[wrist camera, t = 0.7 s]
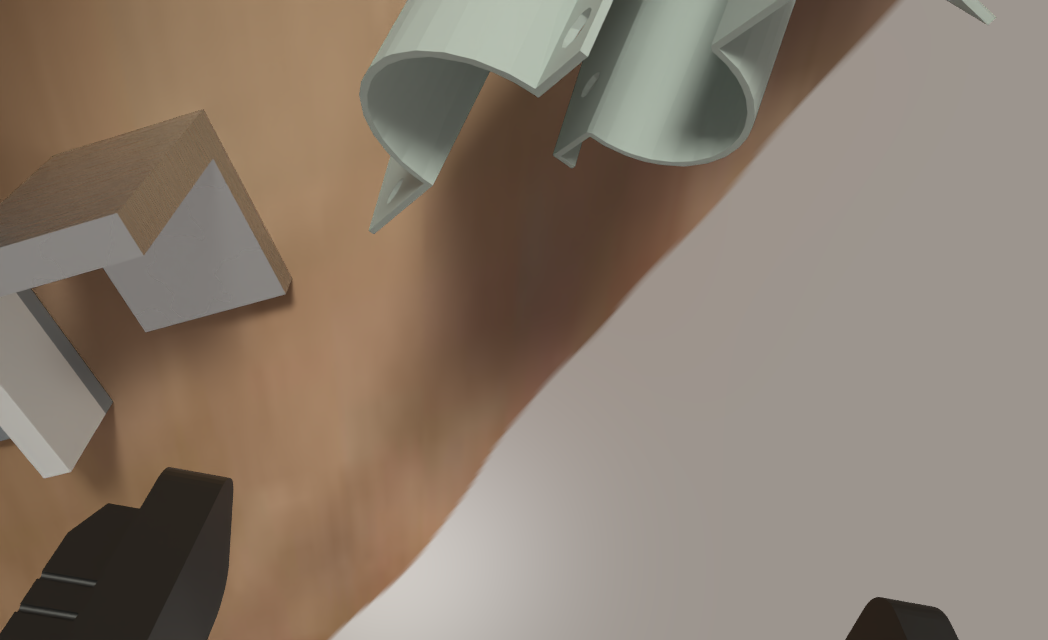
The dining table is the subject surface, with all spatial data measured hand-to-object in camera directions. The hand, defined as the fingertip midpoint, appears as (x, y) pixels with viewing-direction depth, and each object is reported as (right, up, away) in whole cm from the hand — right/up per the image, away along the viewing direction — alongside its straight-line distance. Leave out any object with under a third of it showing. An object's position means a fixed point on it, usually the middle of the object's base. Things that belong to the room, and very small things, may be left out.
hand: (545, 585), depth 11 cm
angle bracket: (-13, +7, +22) cm, 27 cm away
